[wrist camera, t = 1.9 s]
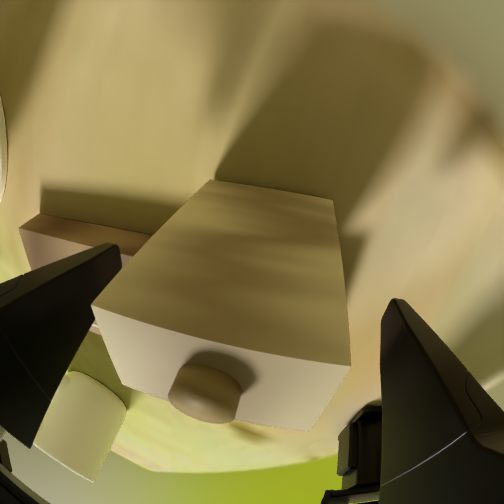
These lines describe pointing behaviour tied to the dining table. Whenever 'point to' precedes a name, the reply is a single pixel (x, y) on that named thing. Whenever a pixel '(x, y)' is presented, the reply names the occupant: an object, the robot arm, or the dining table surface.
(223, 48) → the dining table surface
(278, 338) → the beige box with knob
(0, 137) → the decorative vase
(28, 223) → the board
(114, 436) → the mug
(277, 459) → the dining table surface
